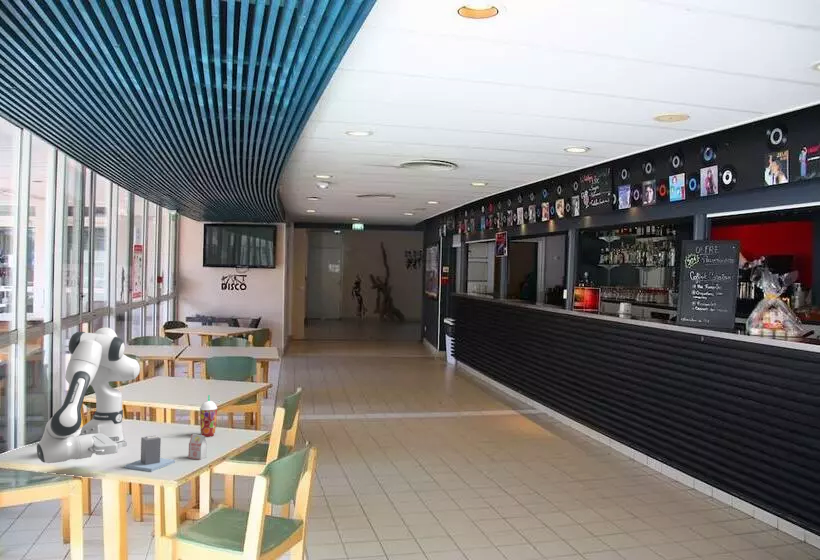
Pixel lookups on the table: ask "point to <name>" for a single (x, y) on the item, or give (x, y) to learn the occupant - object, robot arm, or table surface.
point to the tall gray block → (150, 450)
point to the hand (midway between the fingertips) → (122, 440)
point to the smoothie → (208, 418)
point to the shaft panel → (149, 465)
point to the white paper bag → (197, 447)
